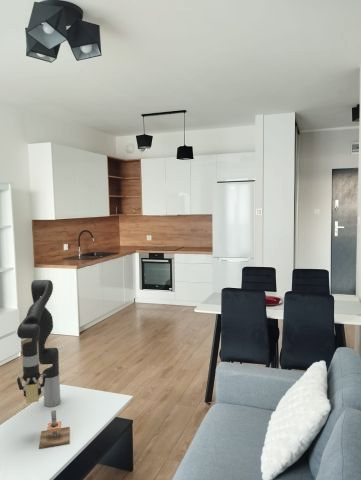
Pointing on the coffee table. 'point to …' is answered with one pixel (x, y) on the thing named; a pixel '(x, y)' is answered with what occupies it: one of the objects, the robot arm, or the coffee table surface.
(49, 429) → the orange square ring
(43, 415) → the coffee table surface
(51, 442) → the post stand
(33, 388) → the sleeve
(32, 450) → the coffee table surface
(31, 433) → the coffee table surface
